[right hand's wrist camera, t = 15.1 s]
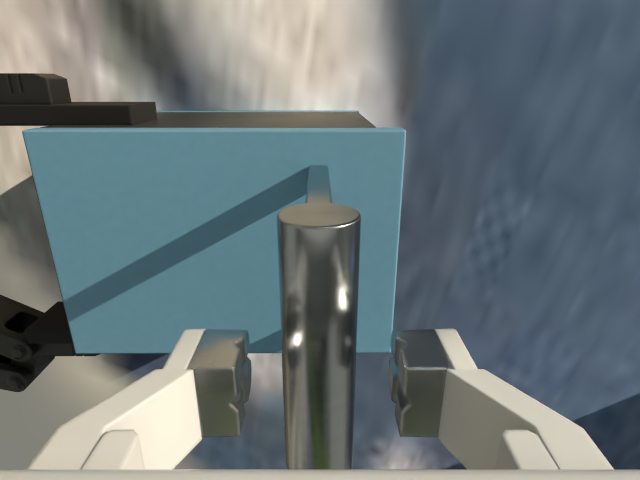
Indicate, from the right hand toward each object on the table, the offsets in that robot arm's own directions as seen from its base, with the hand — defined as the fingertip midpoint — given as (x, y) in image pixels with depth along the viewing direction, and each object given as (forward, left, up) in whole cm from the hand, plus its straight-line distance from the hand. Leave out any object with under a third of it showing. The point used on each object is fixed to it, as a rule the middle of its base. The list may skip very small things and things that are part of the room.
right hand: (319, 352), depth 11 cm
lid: (+2, +3, -7) cm, 8 cm away
